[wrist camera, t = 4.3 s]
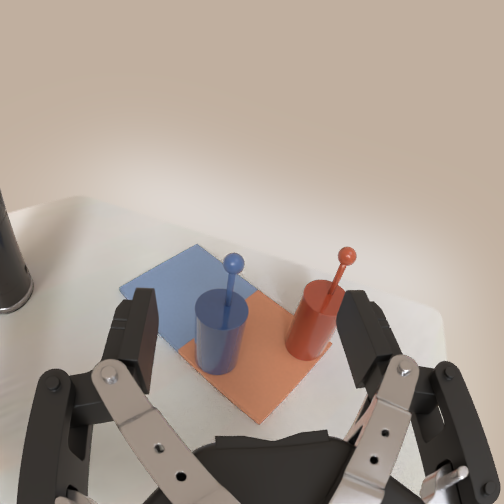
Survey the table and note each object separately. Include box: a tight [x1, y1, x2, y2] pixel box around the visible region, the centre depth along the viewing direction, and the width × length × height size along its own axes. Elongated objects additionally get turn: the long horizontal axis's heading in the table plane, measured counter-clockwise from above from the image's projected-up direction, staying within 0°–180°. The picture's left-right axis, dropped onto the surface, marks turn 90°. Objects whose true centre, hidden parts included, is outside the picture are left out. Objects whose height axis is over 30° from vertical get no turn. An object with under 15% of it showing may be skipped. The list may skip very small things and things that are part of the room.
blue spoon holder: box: [194, 253, 249, 375], centre depth 34 cm, size 6×6×17 cm
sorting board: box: [119, 244, 332, 425], centre depth 44 cm, size 16×28×1 cm, turn 49°
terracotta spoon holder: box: [285, 247, 356, 361], centre depth 37 cm, size 6×6×17 cm
